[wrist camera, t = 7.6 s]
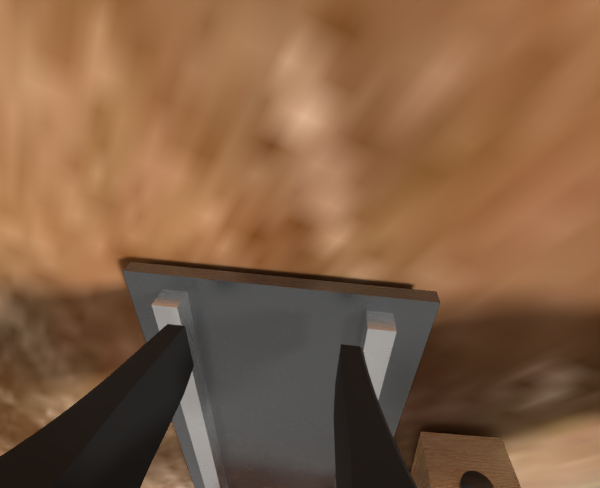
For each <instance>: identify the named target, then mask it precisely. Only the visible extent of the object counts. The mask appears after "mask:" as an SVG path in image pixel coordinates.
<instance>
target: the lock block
mask: <svg viewBox="0 0 600 488" xmlns="http://www.w3.org/2000/svg"><path fill="white" fill-rule="evenodd" d="M411 476H412V478H413V480H414V482H415V484H416V486H417V488H521V487H520V484H519V481H518V479H517V476H516V474H515V471H514V468H513V466H512V463H511V461H510V458H509V455H508V453H507V450H506V448H505V445H504V443H503V440H502V438H492V437H480V436H468V435H456V434H444V433H432V432H420V436H419V441H418V445H417V449H416V453H415V457H414V461H413V466H412V470H411Z"/></svg>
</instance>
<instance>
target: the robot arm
mask: <svg viewBox="0 0 600 488" xmlns="http://www.w3.org/2000/svg"><path fill="white" fill-rule="evenodd" d="M193 367H194V363H193V359H192V355H191V350H190V346H189V341H188V337H187V332H186V328H185V326H181V325H173V324H167V325H166V326H165V327H163V328H162V329H161V330H160V331H159V332H158V333H157V334H156V335H155V336H153V337H152V338H151V339H150V340H149V341H148V342H147V343H146V344H145V345H144V346H142V347H141V348H140V349H139V350H138V351H137V352H136V353H135V354H134V355H133V356H131V357H130V358H129V359H128V360H127V361H126V362H125V363H123V364H122V365H121V366H120V367H119V368H118V369H117V370H115V371H114V372H113V373H112V374H111V375H110V376H109V377H107V378H106V379H105V380H104V381H103V382H101V383H100V384H99V385H98V386H96V387H95V388H94V389H93V390H92V391H90V392H89V393H88V394H87V395H85V396H84V397H83V398H82V399H80V400H79V401H78V402H77V403H75V404H74V405H73V406H72V407H70V408H69V409H68V410H66V411H65V412H64V413H62V414H61V415H60V416H58V417H57V418H56V419H54V420H53V421H52V422H50V423H49V424H47V425H46V426H45V427H43V428H42V429H40V430H39V431H38V432H36V433H35V434H33V435H32V436H30V437H29V438H27V439H26V440H24V441H23V442H21V443H20V444H19V445H17V446H16V447H14V448H13V449H11V450H9V451H8V452H6V453H5V454H3V455H2V456H0V488H140V487H141V484H142V482H143V480H144V477H145V475H146V473H147V471H148V468H149V466H150V464H151V462H152V460H153V458H154V456H155V454H156V452H157V450H158V448H159V445H160V443H161V441H162V439H163V437H164V435H165V433H166V431H167V429H168V427H169V425H170V423H171V421H172V419H173V417H174V415H175V412H176V410H177V408H178V406H179V404H180V402H181V400H182V398H183V395H184V393H185V390H186V387H187V384H188V382H189V379H190V376H191V373H192V370H193ZM334 443H335V469H336V488H417V486H416V484H415V482H414V480H413V478H412V476H411V474H410V472H409V470H408V468H407V466H406V464H405V462H404V460H403V458H402V456H401V454H400V452H399V449H398V447H397V445H396V443H395V440H394V438H393V436H392V434H391V431H390V429H389V427H388V424H387V422H386V419H385V417H384V414H383V412H382V409H381V406H380V404H379V401H378V399H377V396H376V393H375V390H374V387H373V384H372V381H371V378H370V375H369V372H368V368H367V365H366V361H365V357H364V352H363V349H362V348H361V347H360V346H352V345H344V344H341V347H340V354H339V361H338V368H337V375H336V382H335V397H334Z"/></svg>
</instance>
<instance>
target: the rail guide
mask: <svg viewBox="0 0 600 488" xmlns="http://www.w3.org/2000/svg"><path fill="white" fill-rule="evenodd" d="M122 271H123V274H124V277H125V280H126V283H127V286H128V289H129V292H130V295H131V298H132V301H133V304H134V307H135V310H136V313H137V316H138V319H139V322H140V325H141V328H142V331H143V334H144V337H145V340H146V343H147V342H148V341H149V340H150V339H151V338H152V337H153V336H155V335H156V334H157V333H158V332H159V331H160V330H161V329H162V328H163V327H165V326H166V325H167V324H173V325H181V326H185V328H186V332H187V337H188V341H189V346H190V350H191V355H192V359H193V363H194V367H193V370H192V373H191V376H190V379H189V382H188V384H187V387H186V390H185V393H184V395H183V398H182V400H181V402H180V404H179V406H178V408H177V410H176V412H175V415H174V417H173V419H172V421H173V424H174V427H175V430H176V433H177V436H178V439H179V442H180V445H181V448H182V451H183V454H184V457H185V460H186V463H187V466H188V469H189V472H190V475H191V478H192V481H193V484H194V487H195V488H336V469H335V443H334V397H335V382H336V375H337V368H338V361H339V354H340V347H341V344H344V345H352V346H360V347H361V348H362V349H363V352H364V357H365V361H366V365H367V368H368V372H369V375H370V378H371V381H372V384H373V387H374V390H375V393H376V396H377V399H378V401H379V404H380V406H381V409H382V412H383V414H384V417H385V419H386V422H387V424H388V427H389V429H390V431H391V434H392V436H393V438H394V435H395V432H396V429H397V426H398V423H399V421H400V418H401V415H402V412H403V409H404V406H405V403H406V400H407V397H408V394H409V392H410V389H411V386H412V383H413V380H414V377H415V374H416V371H417V368H418V365H419V363H420V360H421V357H422V354H423V351H424V348H425V345H426V342H427V339H428V337H429V334H430V331H431V328H432V325H433V322H434V319H435V316H436V313H437V310H438V308H439V305H440V301H439V298H438V295H437V292H435V291H425V290H414V289H404V288H394V287H384V286H373V285H363V284H353V283H343V282H333V281H322V280H312V279H302V278H292V277H282V276H271V275H261V274H251V273H241V272H230V271H220V270H210V269H200V268H190V267H179V266H169V265H159V264H149V263H139V262H130V263H129V264H128V265H127V266H126V267H125V268H124V269H123V270H122Z"/></svg>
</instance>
